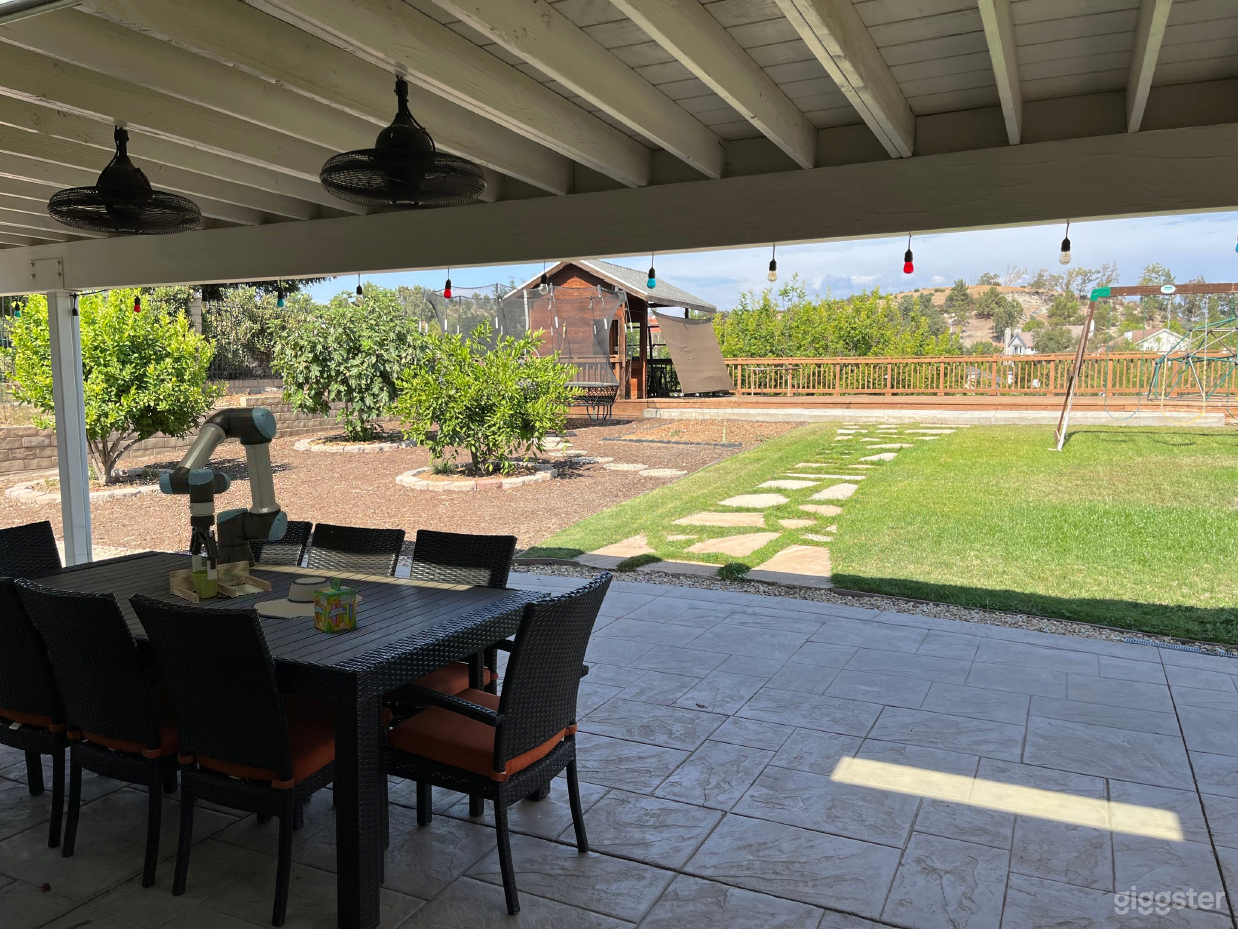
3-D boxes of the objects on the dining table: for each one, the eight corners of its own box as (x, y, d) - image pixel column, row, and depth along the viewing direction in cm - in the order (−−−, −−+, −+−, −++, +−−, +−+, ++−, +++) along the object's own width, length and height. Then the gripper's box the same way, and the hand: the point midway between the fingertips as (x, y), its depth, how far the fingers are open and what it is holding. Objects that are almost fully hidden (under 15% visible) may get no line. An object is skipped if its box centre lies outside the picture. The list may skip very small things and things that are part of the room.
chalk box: (313, 628, 255) (312, 578, 254) (342, 622, 261) (341, 573, 260) (328, 634, 248) (326, 583, 247) (357, 627, 255) (356, 578, 254)
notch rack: (248, 582, 318) (247, 560, 317) (273, 591, 303) (272, 568, 303) (170, 594, 299) (169, 572, 298) (193, 604, 284) (192, 580, 283)
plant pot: (189, 601, 290) (188, 575, 289) (192, 595, 298) (191, 570, 298) (220, 598, 293) (219, 573, 292) (222, 592, 302) (220, 568, 301)
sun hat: (255, 627, 259) (254, 597, 258) (247, 602, 291) (246, 575, 290) (378, 612, 275) (377, 584, 274) (357, 590, 307) (356, 564, 306)
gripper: (177, 512, 299) (179, 573, 301) (204, 518, 282) (207, 582, 283) (200, 510, 305) (202, 570, 306) (228, 516, 287) (230, 579, 289)
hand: (204, 576), depth 295 cm, fingers open, 13 cm apart
